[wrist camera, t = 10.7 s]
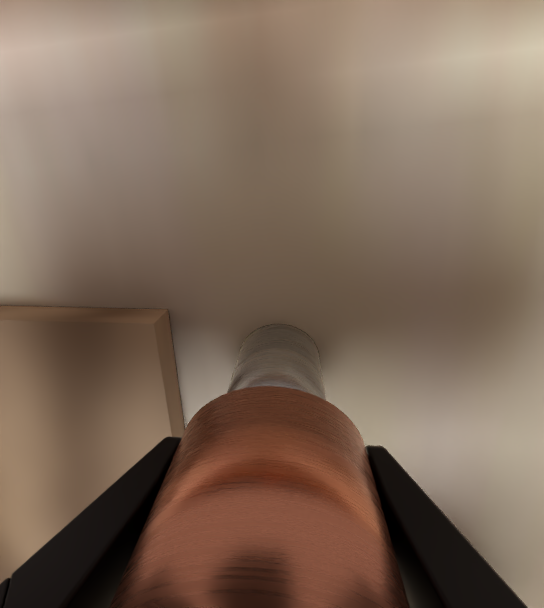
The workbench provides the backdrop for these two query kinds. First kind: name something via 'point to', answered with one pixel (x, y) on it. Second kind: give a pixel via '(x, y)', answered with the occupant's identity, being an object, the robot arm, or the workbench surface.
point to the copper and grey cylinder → (267, 499)
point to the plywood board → (76, 412)
